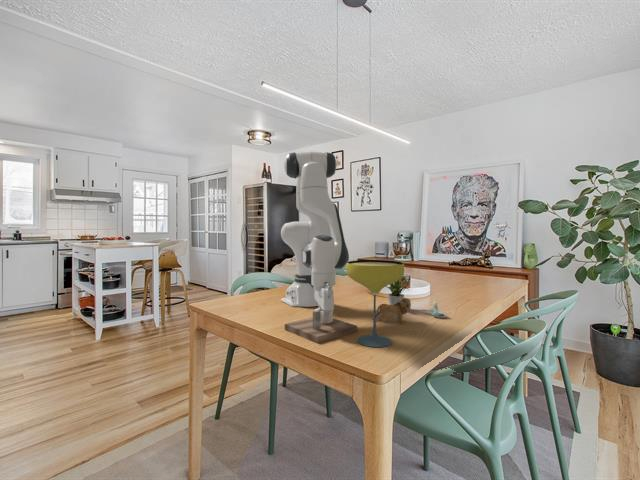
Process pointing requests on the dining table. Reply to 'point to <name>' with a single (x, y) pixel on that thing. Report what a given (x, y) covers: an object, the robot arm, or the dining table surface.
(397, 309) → the lion figurine
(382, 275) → the cocktail glass
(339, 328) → the board
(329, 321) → the white hollow tube
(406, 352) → the dining table surface
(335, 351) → the dining table surface
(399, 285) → the house plant
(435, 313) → the pacifier
